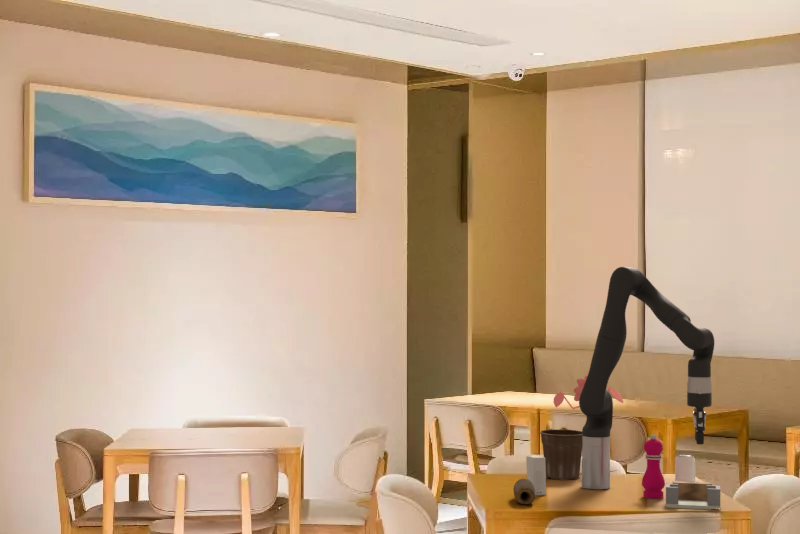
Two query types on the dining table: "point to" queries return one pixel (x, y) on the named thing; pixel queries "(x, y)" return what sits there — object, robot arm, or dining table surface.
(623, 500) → the dining table surface
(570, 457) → the plant pot
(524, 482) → the brown twine roll
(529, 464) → the skincare box
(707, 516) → the dining table surface
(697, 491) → the slat
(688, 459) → the can
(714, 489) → the holder
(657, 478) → the pepper mill
